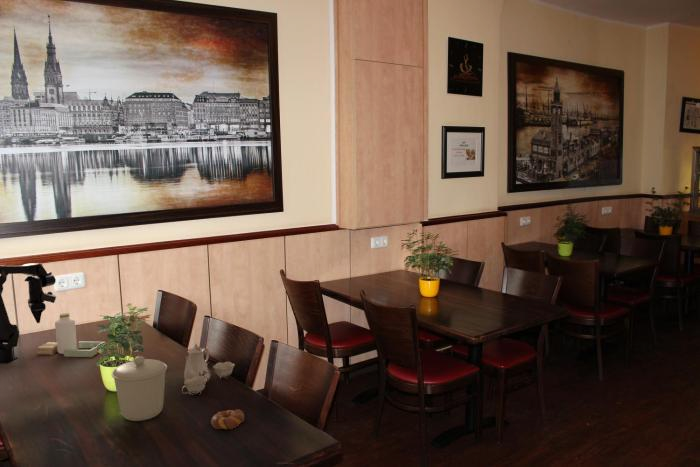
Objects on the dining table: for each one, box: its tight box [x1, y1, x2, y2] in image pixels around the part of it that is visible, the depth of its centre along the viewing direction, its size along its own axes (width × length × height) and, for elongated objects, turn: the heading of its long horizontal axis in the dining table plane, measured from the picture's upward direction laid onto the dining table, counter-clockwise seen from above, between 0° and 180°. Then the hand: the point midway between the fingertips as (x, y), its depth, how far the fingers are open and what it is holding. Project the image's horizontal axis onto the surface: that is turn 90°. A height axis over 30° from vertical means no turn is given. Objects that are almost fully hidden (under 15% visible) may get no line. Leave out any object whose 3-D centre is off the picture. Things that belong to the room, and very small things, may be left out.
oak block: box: [37, 341, 58, 355], centre depth 268 cm, size 8×7×4 cm
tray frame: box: [63, 340, 106, 358], centre depth 266 cm, size 13×13×3 cm
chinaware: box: [181, 343, 236, 395], centre depth 224 cm, size 28×17×17 cm, turn 161°
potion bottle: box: [54, 313, 78, 355], centre depth 266 cm, size 8×8×18 cm
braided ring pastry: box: [210, 409, 245, 431], centre depth 191 cm, size 12×11×4 cm
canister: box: [111, 355, 168, 422], centre depth 197 cm, size 18×18×21 cm
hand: (37, 321), depth 274 cm, fingers open, 9 cm apart
